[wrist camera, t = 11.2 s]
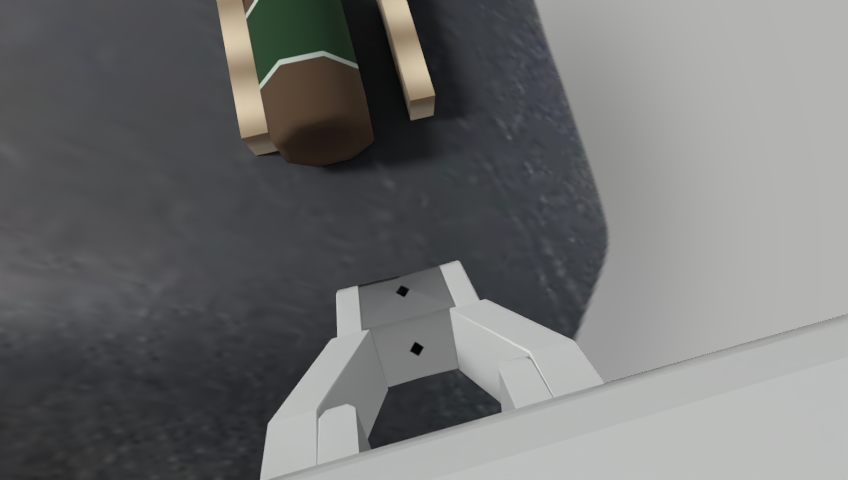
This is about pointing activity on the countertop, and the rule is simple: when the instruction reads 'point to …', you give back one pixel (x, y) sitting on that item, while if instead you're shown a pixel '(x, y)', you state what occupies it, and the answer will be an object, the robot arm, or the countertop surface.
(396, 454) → the robot arm
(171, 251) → the countertop surface
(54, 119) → the countertop surface
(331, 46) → the beer bottle
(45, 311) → the countertop surface
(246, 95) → the u rest
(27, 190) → the countertop surface
